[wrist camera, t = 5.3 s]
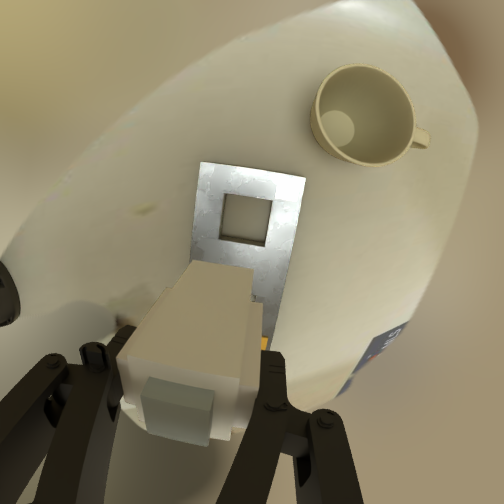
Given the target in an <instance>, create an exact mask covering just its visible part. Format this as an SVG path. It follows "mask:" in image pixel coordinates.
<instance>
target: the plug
mask: <svg viewBox="0 0 504 504" xmlns="http://www.w3.org/2000/svg"><path fill="white" fill-rule="evenodd" d="M253 274H254V269H250V268H243V267H237V266H230V265H223V264H217V263H210V262H204V261H197V260H192V262H191V263H190V264H189V266H188V267H187V269H186V270H185V271H184V273H183V274H182V276H181V277H180V278H179V280H178V281H177V283H176V284H175V285H174V287H173V288H172V290H171V291H170V292H169V294H168V295H167V297H166V298H165V299H164V301H163V302H162V304H161V305H160V307H159V308H158V309H157V311H156V312H155V314H154V315H153V317H152V318H151V320H150V321H149V323H148V324H147V325H146V327H145V328H144V330H143V331H142V333H141V334H140V336H139V337H138V339H137V340H136V342H135V343H134V345H133V346H132V348H131V349H130V351H129V352H128V354H127V359H128V365H129V372H130V377H131V383H132V389H133V394H134V399H135V404H136V408H137V413H138V417H139V421H142V422H145V423H146V428H147V432H148V433H151V434H154V435H158V436H162V437H166V438H169V439H174V440H178V441H182V442H187V443H192V444H196V445H202V446H208V443H209V438H215V439H222V440H228V441H229V440H230V435H231V430H232V424H233V418H234V412H235V406H236V400H237V394H238V388H239V382H240V375H241V368H242V360H243V352H244V344H245V337H246V329H247V321H248V313H249V306H250V298H251V290H252V282H253Z"/></svg>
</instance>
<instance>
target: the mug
mask: <svg viewBox="0 0 504 504" xmlns="http://www.w3.org/2000/svg"><path fill="white" fill-rule="evenodd" d="M310 124H311V129H312V132H313V135H314V137H315V139H316V140H317V142H318V143H319V145H320V146H321V147H322V148H323V149H324V150H325V151H326V152H328V153H329V154H331V155H332V156H334V157H336V158H338V159H341V160H343V161H347V162H351V163H354V164H358V165H362V166H367V167H380V166H385V165H388V164H391V163H393V162H395V161H397V160H398V159H400V158H401V157H402V156H403V155H404V154H405V153H406V152H407V150H408V149H409V147H411V148H418V149H426V148H428V147H429V145H430V133H429V132H428V131H426V130H423V129H421V128H418V127H416V115H415V110H414V106H413V104H412V101H411V99H410V97H409V95H408V93H407V92H406V90H405V89H404V87H403V86H402V85H401V84H400V83H399V82H398V81H397V80H396V79H395V78H394V77H393V76H392V75H390V74H389V73H387V72H386V71H384V70H382V69H380V68H378V67H375V66H372V65H368V64H348V65H345V66H342V67H339V68H337V69H336V70H334V71H332V72H331V73H330V74H329V75H328V76H327V77H326V78H325V79H324V80H323V82H322V83H321V85H320V87H319V89H318V92H317V94H316V97H315V99H314V102H313V105H312V108H311V114H310Z"/></svg>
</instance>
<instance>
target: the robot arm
mask: <svg viewBox="0 0 504 504" xmlns="http://www.w3.org/2000/svg"><path fill="white" fill-rule="evenodd" d="M171 290H172V288H166V289H165V290H164V292H163V293H162V294H161V296H160V297H159V298H158V300H157V301H156V302H155V304H154V305H153V306H152V308H151V309H150V310H149V312H148V313H147V314H146V316H145V317H144V319H143V320H142V321H141V323H140V324H139V326H138V327H134V326H130V325H126V326H124V327H123V328H121V329H119V331H118V332H117V333H116V334H115V337H113V338H112V339H111V341H110V342H109V343H108V345H107V346H105V345H104V344H102V343H99V342H90V343H86V344H84V345H82V346H81V347H80V349H79V351H80V355H81V359H82V363H83V365H77V364H68V363H67V361H66V359H65V357H64V356H62V355H61V354H57V353H53V354H48V355H46V356H44V357H43V358H42V359H41V360H40V361H39V362H38V363H37V364H36V365H35V366H34V367H33V368H32V369H31V370H30V371H29V372H28V373H27V374H26V375H25V376H24V377H23V378H22V379H21V380H20V381H19V382H18V383H17V384H16V385H15V386H14V388H13V389H11V391H10V392H9V393H8V394H7V395H6V396H5V397H4V398H3V399H2V400H1V401H0V504H16V502H17V500H18V499H19V497H20V495H21V494H22V492H23V490H24V489H25V487H26V486H27V484H28V482H29V480H30V479H31V478H32V476H33V474H34V473H35V471H36V470H37V468H38V467H39V465H40V464H41V462H42V460H43V459H44V458H45V456H46V454H47V456H46V460H45V463H44V466H43V469H42V473H41V476H40V480H39V483H38V487H37V491H36V495H35V498H34V501H33V502H32V503H29V504H103V503H104V495H105V488H106V481H107V475H108V469H109V463H110V457H111V452H112V447H113V442H114V437H115V432H116V427H117V423H118V419H119V414H120V410H121V404H120V399H121V398H122V396H123V395H124V399H125V402H126V403H129V404H133V405H136V404H135V399H134V394H133V389H132V383H131V377H130V372H129V365H128V359H127V354H128V352H129V351H130V349H131V348H132V346H133V345H134V343H135V342H136V340H137V339H138V337H139V336H140V334H141V333H142V331H143V330H144V328H145V327H146V325H147V324H148V323H149V321H150V320H151V318H152V317H153V315H154V314H155V312H156V311H157V309H158V308H159V307H160V305H161V304H162V302H163V301H164V299H165V298H166V297H167V295H168V294H169V292H170V291H171ZM19 314H20V302H19V297H18V293H17V290H16V287H15V285H14V282H13V280H12V278H11V276H10V274H9V273H8V271H7V269H6V268H5V267H4V265H3V264H2V263H1V262H0V327H2V326H6V325H9V324H11V323H13V322H14V321H15V320H16V319H17V318H18V317H19ZM262 314H263V303H258V302H251V301H250V306H249V313H248V321H247V329H246V337H245V344H244V352H243V360H242V368H241V375H240V382H239V388H238V394H237V400H236V406H235V412H234V418H233V424H232V427H238V428H246V431H245V434H244V436H243V439H242V442H241V444H240V447H239V449H238V452H237V454H236V456H235V459H234V461H233V464H232V466H231V469H230V471H229V474H228V476H227V478H226V481H225V483H224V485H223V488H222V490H221V492H220V495H219V497H218V499H217V502H216V504H266V502H267V498H268V495H269V491H270V488H271V485H272V481H273V477H274V474H275V470H276V467H277V463H278V459H279V455H280V452H281V453H285V454H288V455H291V456H293V465H294V476H295V487H296V499H297V504H364V503H363V498H362V494H361V490H360V486H359V482H358V478H357V474H356V470H355V466H354V462H353V458H352V454H351V450H350V446H349V443H348V439H347V435H346V432H345V428H344V424H343V421H342V419H341V417H340V416H339V415H338V414H337V413H336V412H334V411H331V410H329V409H318V410H316V411H314V412H313V413H312V414H310V413H307V412H304V411H301V410H298V409H296V408H295V407H293V406H292V405H291V404H290V402H289V401H288V398H287V387H286V371H285V359H284V357H283V356H282V354H281V353H280V352H276V351H268V350H261V337H262ZM51 395H52V396H51ZM50 396H51V397H50ZM49 397H50V398H49Z"/></svg>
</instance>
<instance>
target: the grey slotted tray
mask: <svg viewBox="0 0 504 504" xmlns="http://www.w3.org/2000/svg"><path fill="white" fill-rule="evenodd" d="M305 179H306V178H304V177H300V176H295V175H290V174H284V173H278V172H272V171H266V170H260V169H254V168H247V167H240V166H233V165H226V164H218V163H210V162H201V163H200V171H199V178H198V186H197V194H196V203H195V212H194V221H193V231H192V241H191V252H190V263H191V262H192V260H197V261H204V262H210V263H217V264H223V265H230V266H237V267H243V268H250V269H254V274H253V282H252V290H251V295H256V296H255V302H258V303H263V314H262V337H261V350H268V351H269V350H270V346H271V342H272V337H273V333H274V329H275V325H276V320H277V316H278V312H279V307H280V303H281V298H282V294H283V289H284V285H285V280H286V276H287V271H288V266H289V262H290V257H291V252H292V247H293V242H294V237H295V232H296V227H297V222H298V217H299V212H300V206H301V201H302V196H303V190H304V185H305ZM226 193H229V194H235V195H242V196H248V197H255V198H261V199H267V200H272V206H271V211H270V217H269V223H268V229H267V235H266V240H265V243H264V242H258V241H252V240H246V239H240V238H234V237H228V236H222V235H221V229H222V222H223V214H224V207H225V200H226Z"/></svg>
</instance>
